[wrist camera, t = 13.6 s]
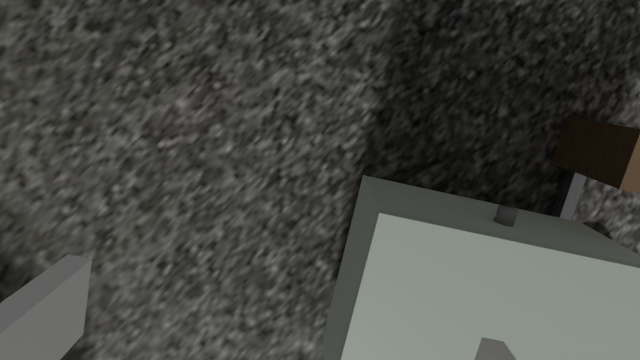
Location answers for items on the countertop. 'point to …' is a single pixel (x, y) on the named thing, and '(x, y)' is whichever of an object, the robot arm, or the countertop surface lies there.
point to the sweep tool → (595, 160)
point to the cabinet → (477, 282)
